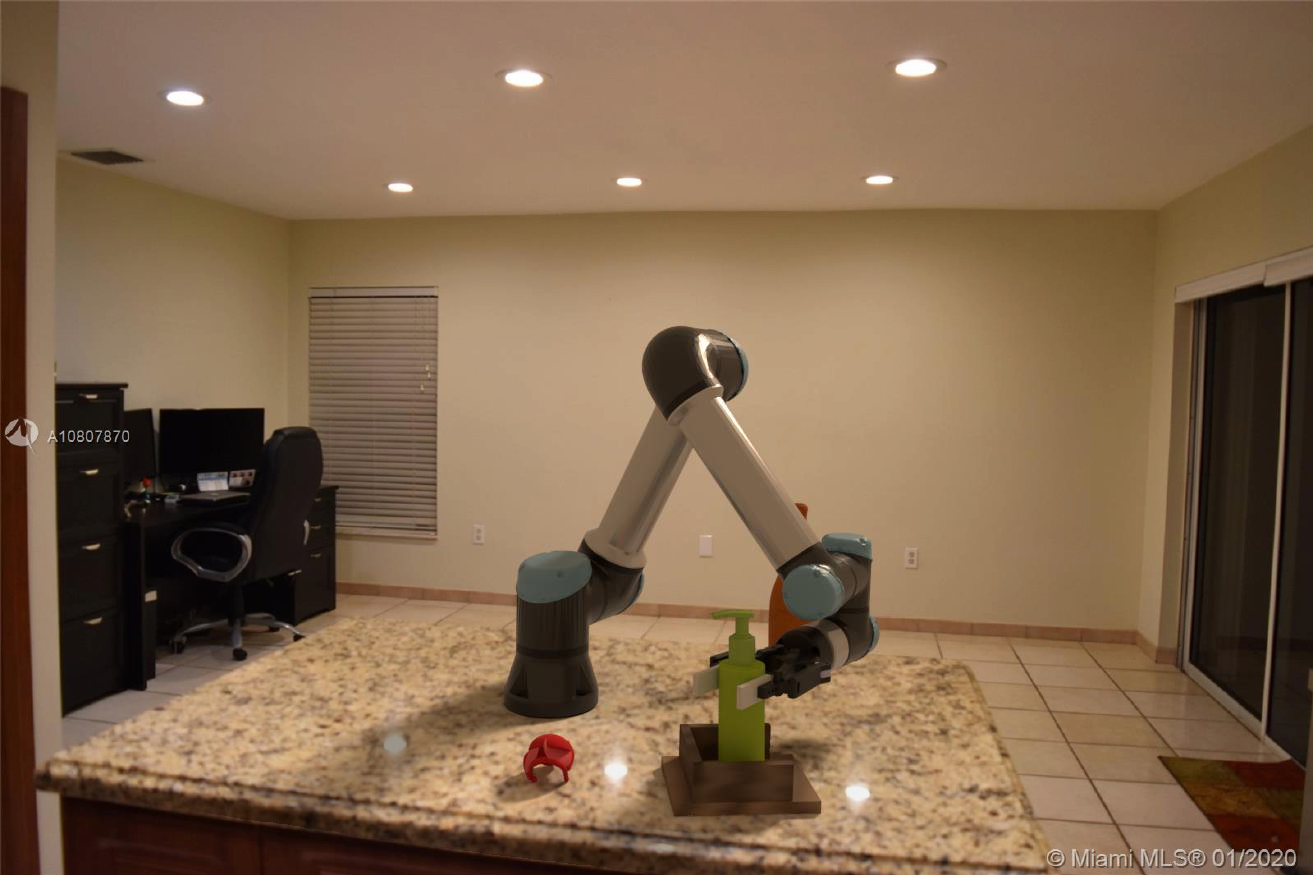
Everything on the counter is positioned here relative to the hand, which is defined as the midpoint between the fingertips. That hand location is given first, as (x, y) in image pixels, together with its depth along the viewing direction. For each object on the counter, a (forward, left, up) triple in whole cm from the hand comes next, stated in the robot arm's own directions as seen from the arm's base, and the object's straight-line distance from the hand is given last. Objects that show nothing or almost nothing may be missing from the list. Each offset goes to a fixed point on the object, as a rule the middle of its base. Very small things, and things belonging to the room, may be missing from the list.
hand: (717, 691), depth 111 cm
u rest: (+4, +4, -14) cm, 15 cm away
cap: (-20, +8, -14) cm, 26 cm away
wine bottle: (+25, +56, -14) cm, 63 cm away
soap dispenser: (+4, +4, -11) cm, 12 cm away
